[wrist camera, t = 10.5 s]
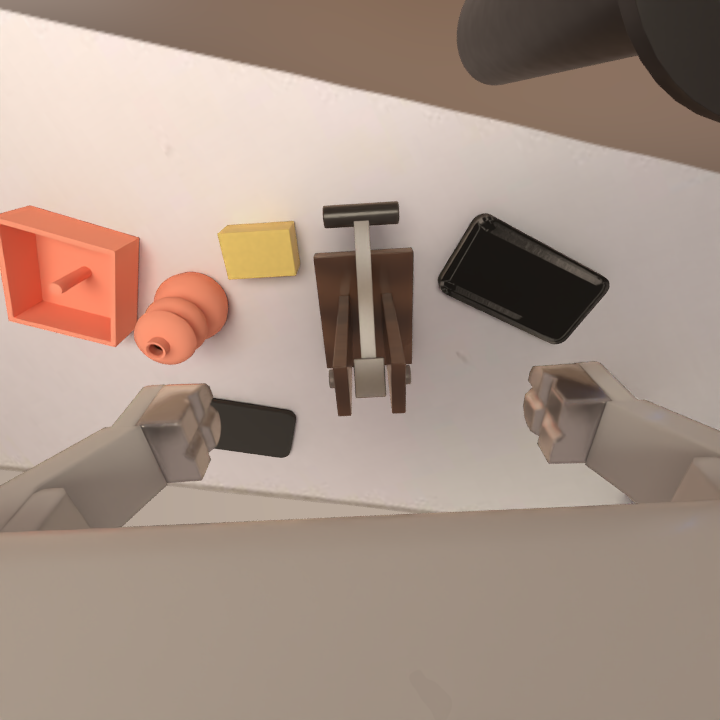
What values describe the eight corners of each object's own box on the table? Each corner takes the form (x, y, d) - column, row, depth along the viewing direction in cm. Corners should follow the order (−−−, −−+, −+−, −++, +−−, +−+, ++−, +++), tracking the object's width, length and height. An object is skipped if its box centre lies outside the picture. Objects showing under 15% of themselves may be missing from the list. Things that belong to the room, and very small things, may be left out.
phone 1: (288, 459, 49) (165, 442, 47) (289, 454, 50) (167, 437, 48) (296, 415, 46) (162, 394, 44) (297, 410, 46) (165, 389, 44)
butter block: (227, 225, 35) (217, 233, 32) (293, 220, 35) (289, 229, 32) (237, 268, 37) (228, 279, 35) (300, 264, 37) (296, 275, 34)
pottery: (40, 301, 39) (-46, 352, 30) (29, 205, 34) (-77, 234, 26) (224, 349, 42) (191, 407, 33) (237, 267, 37) (203, 310, 29)
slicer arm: (325, 212, 30) (321, 200, 28) (396, 207, 30) (398, 195, 28) (335, 395, 31) (332, 399, 28) (406, 391, 30) (409, 395, 28)
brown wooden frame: (314, 253, 36) (294, 318, 25) (411, 247, 36) (438, 310, 24) (327, 362, 43) (317, 455, 31) (410, 357, 42) (430, 449, 31)
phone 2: (483, 211, 33) (615, 283, 37) (479, 208, 34) (608, 278, 38) (434, 290, 37) (558, 348, 41) (432, 285, 38) (554, 343, 42)
